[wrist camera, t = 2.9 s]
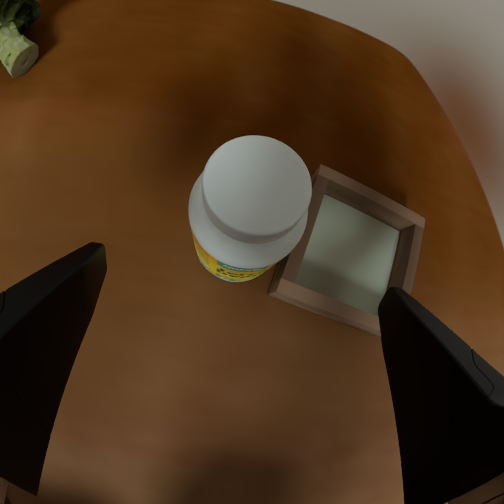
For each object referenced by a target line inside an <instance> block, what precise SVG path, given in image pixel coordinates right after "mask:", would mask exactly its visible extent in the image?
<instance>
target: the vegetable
mask: <svg viewBox="0 0 504 504" xmlns="http://www.w3.org/2000/svg"><path fill="white" fill-rule="evenodd" d="M38 7H39V3H38V1H35V0H0V60H1V61H2V63H3V65H4V66H5V68H6V69H7V70H8V72H9V73H10V75H11V76H12V78H14V77H17V76H20V75H23V74H25V73H26V72H27V71H28V70H29V69H30V67H32V66H33V64H34V63H35V61H36V59H37V58H38V56H39V51H38V45H37V44H36V43H33V42H32V41H30V40H28V39H27V38H26V37H25V36H24V34H25V33H26V31H27V30H30V29H32V26H33V24H34V23H35V22H36V20H37V19H38V18H39V16H40V12H41V11H40V9H39V8H38Z"/></svg>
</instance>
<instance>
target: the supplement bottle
mask: <svg viewBox="0 0 504 504" xmlns="http://www.w3.org/2000/svg"><path fill="white" fill-rule="evenodd" d="M311 196H312V183H311V178H310V174H309V171H308V169H307V167H306V165H305V163H304V162H303V160H302V159H301V157H300V156H299V155H298V154H297V153H296V152H295V151H294V150H293V149H291V148H290V147H289V146H287V145H286V144H284V143H282V142H280V141H278V140H276V139H273V138H270V137H265V136H257V135H250V136H242V137H238V138H235V139H232V140H230V141H228V142H226V143H225V144H223V145H222V146H220V147H219V148H218V149H217V150H216V151H215V152H214V153H213V154H212V156H211V157H210V158H209V160H208V162H207V164H206V166H205V169H204V171H203V172H202V174H201V175H200V176H199V177H198V179H197V180H196V182H195V184H194V186H193V189H192V191H191V194H190V199H189V207H188V211H189V221H190V226H191V230H192V235H193V239H194V244H195V248H196V252H197V255H198V257H199V259H200V261H201V263H202V264H203V265H204V266H205V268H206V269H207V270H208V271H210V272H211V273H212V274H214V275H215V276H217V277H219V278H221V279H224V280H227V281H231V282H243V281H247V280H251V279H253V278H256V277H258V276H259V275H261V274H263V273H264V272H265V271H266V270H268V269H269V268H271V267H272V266H273V265H275V264H276V263H277V262H279V261H280V260H282V259H283V258H284V257H285V256H287V255H288V254H289V253H290V252H291V251H292V250H293V249H294V248H295V246H296V245H297V244H298V242H299V241H300V239H301V237H302V235H303V233H304V230H305V227H306V224H307V217H308V207H309V204H310V201H311Z"/></svg>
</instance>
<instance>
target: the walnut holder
mask: <svg viewBox="0 0 504 504" xmlns="http://www.w3.org/2000/svg"><path fill="white" fill-rule="evenodd" d="M311 183H312V196H311V201H310V204H309V207H308V217H307V224H306V227H305V230H304V233H303V235H302V237H301V239H300V241H299V242H298V244H297V245H296V246H295V248H294V249H293V250H292V251H291V252H290V253H289V254H288V255H287V256H285V257H284V258H283V259H282V260H280V261H279V263H278V266H277V269H276V271H275V274H274V277H273V279H272V282H271V285H270V287H269V290H268V293H267V295H269V296H272V297H274V298H277V299H279V300H282V301H285V302H287V303H290V304H292V305H295V306H298V307H300V308H303V309H305V310H308V311H311V312H313V313H316V314H319V315H321V316H324V317H327V318H329V319H332V320H335V321H337V322H340V323H343V324H345V325H348V326H351V327H354V328H356V329H359V330H362V331H365V332H367V333H370V334H373V335H376V336H381V333H380V325H379V317H378V306H379V303H380V301H381V300H382V298H383V296H384V294H385V293H386V291H387V289H388V288H389V287H400V288H402V289H403V290H404V291H405V292H407V293H408V294H409V295H411V291H412V287H413V282H414V278H415V273H416V269H417V264H418V259H419V254H420V249H421V243H422V237H423V231H424V225H425V218H423V217H421V216H420V215H418V214H416V213H415V212H413V211H411V210H409V209H408V208H406V207H404V206H402V205H400V204H399V203H397V202H395V201H393V200H391V199H390V198H388V197H386V196H384V195H382V194H380V193H378V192H377V191H375V190H373V189H371V188H369V187H367V186H365V185H363V184H361V183H359V182H357V181H355V180H353V179H351V178H349V177H347V176H345V175H343V174H341V173H339V172H337V171H335V170H333V169H331V168H329V167H326V166H324V165H322V164H321V165H320V166H319V167H318V169H317V170H316V171H315V173H314V174H313V175H312V177H311Z"/></svg>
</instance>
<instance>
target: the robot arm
mask: <svg viewBox="0 0 504 504" xmlns="http://www.w3.org/2000/svg"><path fill="white" fill-rule="evenodd" d="M106 271H107V263H106V253H105V247H104V245H103V244H101V243H95V242H91V243H88V244H87V245H85V246H83V247H81V248H79V249H77V250H75V251H73V252H71V253H70V254H68V255H66V256H64V257H62V258H60V259H59V260H57V261H55V262H53V263H51V264H49V265H48V266H46V267H44V268H42V269H41V270H39V271H37V272H35V273H34V274H32V275H30V276H28V277H27V278H25V279H23V280H22V281H20V282H18V283H17V284H15V285H13V286H12V287H10V288H8V289H7V290H6V292H5V291H3V292H2V293H0V504H11V503H10V501H9V499H8V497H7V491H8V486H9V482H10V483H12V484H14V485H16V486H17V487H19V488H21V489H23V490H25V491H27V492H29V493H31V494H34V495H36V496H37V493H38V488H39V483H40V478H41V474H42V469H43V464H44V460H45V456H46V452H47V448H48V444H49V440H50V436H51V435H50V434H51V432H52V429H53V425H54V422H55V418H56V415H57V411H58V408H59V405H60V402H61V399H62V396H63V393H64V390H65V387H66V384H67V381H68V378H69V375H70V372H71V369H72V367H73V364H74V361H75V358H76V356H77V353H78V351H79V348H80V345H81V343H82V340H83V338H84V335H85V333H86V330H87V328H88V325H89V323H90V321H91V318H92V316H93V313H94V310H95V306H96V303H97V300H98V297H99V293H100V290H101V287H102V284H103V281H104V278H105V275H106ZM378 317H379V325H380V333H381V341H382V349H383V354H384V359H385V364H386V369H387V374H388V379H389V384H390V390H391V395H392V401H393V407H394V413H395V420H396V426H397V433H398V441H399V448H400V457H401V467H402V478H403V490H404V504H445V503H447V502H448V504H504V376H503V375H502V374H500V373H499V372H498V371H497V370H496V369H494V368H493V367H492V366H491V365H490V364H489V363H487V362H486V361H485V360H484V359H483V358H482V357H481V356H480V355H478V354H477V353H476V352H475V351H474V350H473V349H471V347H470V346H469V345H467V344H466V343H465V342H464V341H463V340H462V339H461V338H460V337H458V336H457V335H456V334H455V333H454V332H453V331H452V330H450V329H449V328H448V327H447V326H446V325H445V324H444V323H442V322H441V321H440V320H439V319H438V318H437V317H435V316H434V315H433V314H432V313H431V312H430V311H428V310H427V309H426V308H425V307H424V306H422V305H421V304H420V303H419V302H418V301H416V300H415V299H414V298H413V297H412V296H410V295H409V294H408V293H407V292H405V291H404V290H403V289H402V288H400V287H389V288H388V289H387V291H386V293H385V294H384V296H383V298H382V300H381V301H380V303H379V306H378Z"/></svg>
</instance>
